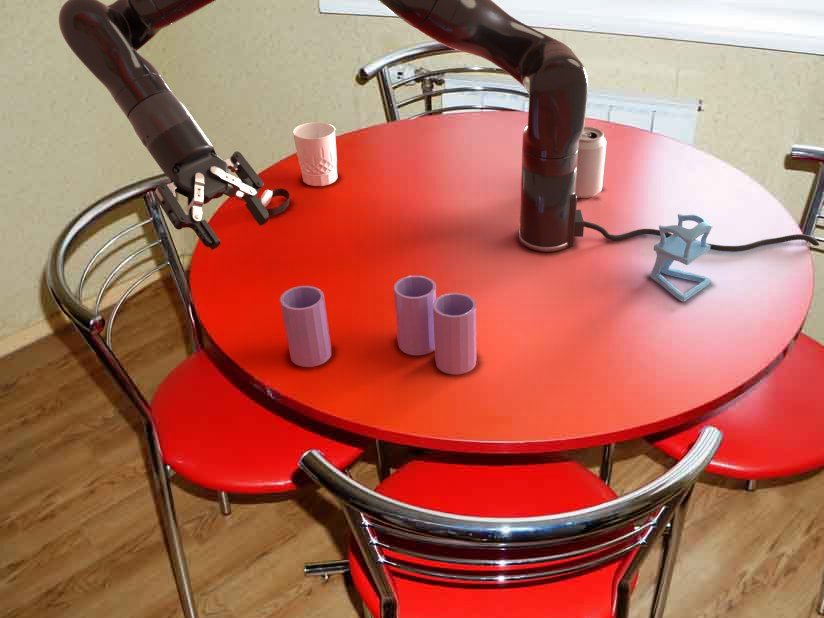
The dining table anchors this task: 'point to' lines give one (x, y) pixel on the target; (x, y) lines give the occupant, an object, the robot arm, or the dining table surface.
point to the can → (590, 162)
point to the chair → (681, 253)
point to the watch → (276, 192)
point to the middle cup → (415, 314)
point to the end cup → (306, 325)
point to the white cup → (316, 152)
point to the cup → (455, 333)
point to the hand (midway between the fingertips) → (241, 234)
